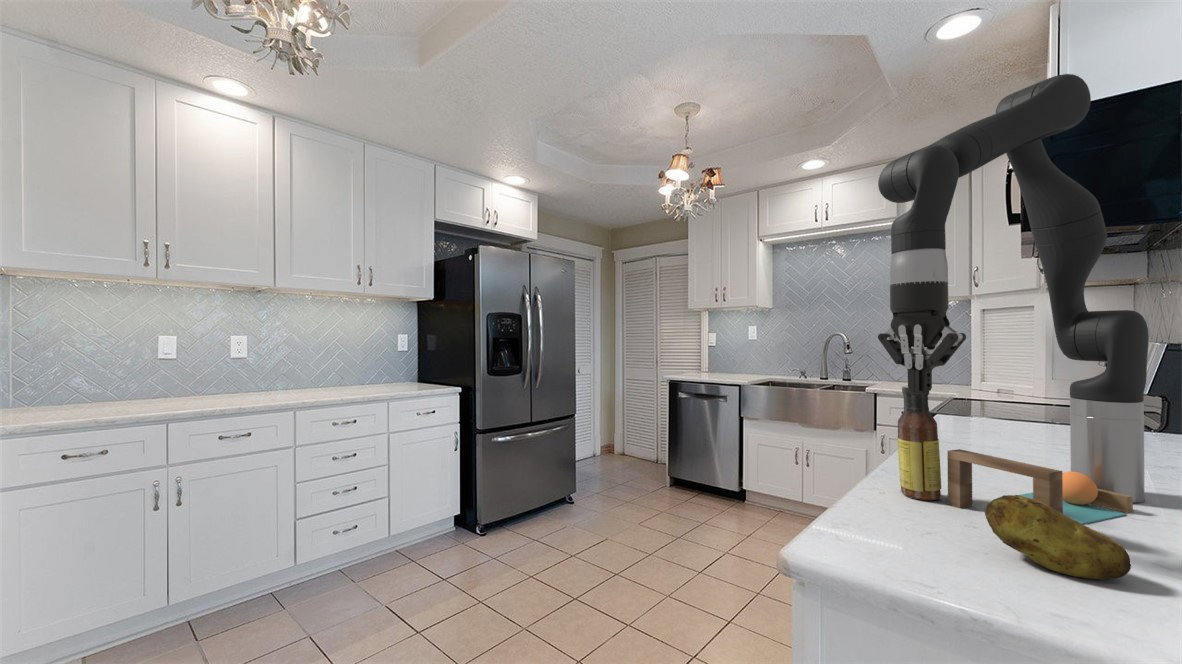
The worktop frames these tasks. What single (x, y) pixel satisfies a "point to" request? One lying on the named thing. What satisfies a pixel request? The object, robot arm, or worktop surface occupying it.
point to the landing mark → (1084, 512)
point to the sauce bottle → (918, 449)
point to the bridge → (1044, 479)
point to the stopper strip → (1114, 501)
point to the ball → (1078, 488)
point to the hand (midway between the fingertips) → (919, 393)
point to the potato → (1055, 539)
